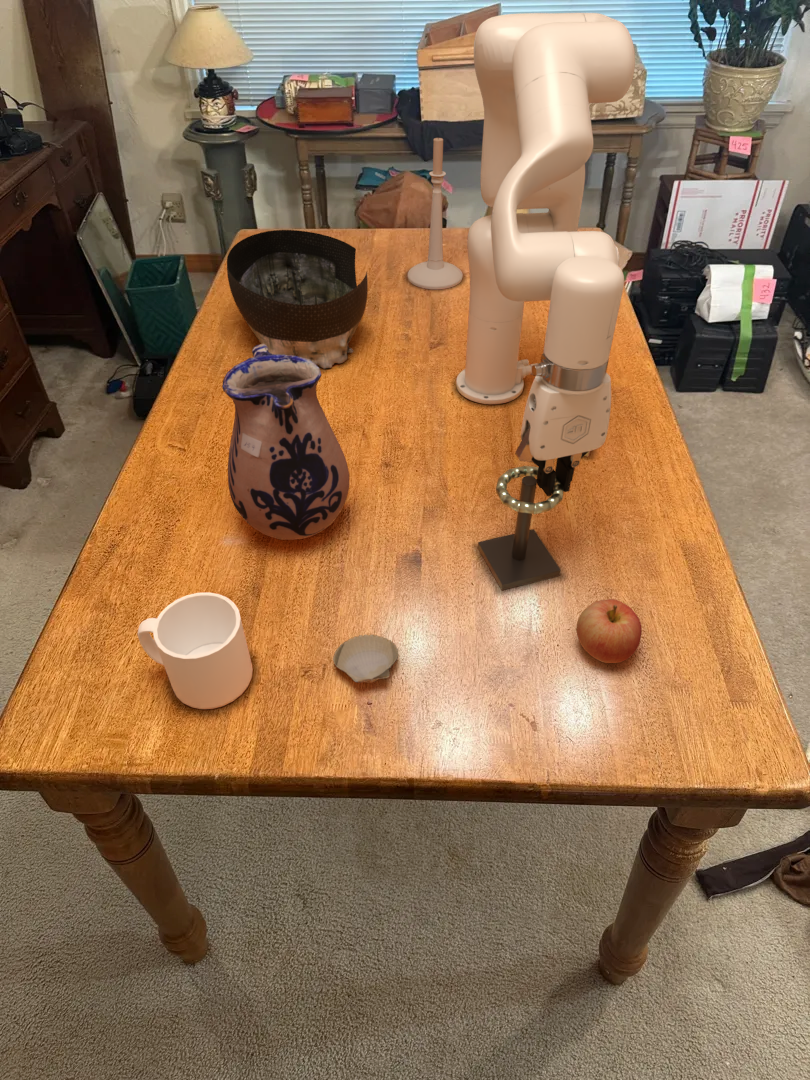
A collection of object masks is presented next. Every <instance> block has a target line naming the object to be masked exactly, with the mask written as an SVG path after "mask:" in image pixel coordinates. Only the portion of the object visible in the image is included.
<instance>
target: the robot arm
mask: <svg viewBox="0 0 810 1080" xmlns="http://www.w3.org/2000/svg"><path fill="white" fill-rule="evenodd" d="M473 40H474V41H473V64H474V65H473V66H474V71H475V76H476V81H477V84H478V87H479V90H480V94H481V98H482V105H483V106H482V107H483V130H482V143H481V144H482V145H481V159H480V161H481V162H480V179H479V180H480V182H479V183H480V192H481V198H482V200H483V202H484V204H486V206H488V207H490V208H491V209H492V213H491V214H490V215H485V216H482V217H479V218H478V219H476V220H475V221H474V222H473V223H472V224H471V225H470V227H469V229H468V232H467V238H466V249H467V259H468V271H469V297H468V318H467V332H466V334H467V335H466V351H465V352H466V353H465V368H464V369H463V370H461V371H460V372H458V374H457V377H456V379H455V386H456V390H457V391H458V393H459V394H460V395H461V396H462V397H464V398H466V399H467V400H469V401H472V402H475V403H478V404H483V405H501V404H507V403H509V402H511V401H514V400H515V399H517V398H519V397H520V396H521V394H522V393H523V391H524V383H525V382H524V380H523V379H525V378H526V376H529V375H530V376H533V377H534V379H533V381H532V384H531V387H530V389H529V393H528V397H527V399H526V402H525V403H526V404H525V406H524V407H525V408H524V411H523V416H522V417H523V418H522V421H521V422H522V423H521V429H520V430H521V431H520V442H519V444H518V447H517V448H516V450H515V452H514V454H515V456H516V458H517V459H518V461H520V462H524V463H525V462H526V463H533V464H534V465H536V467H538V473H537V478H536V479H537V487H538V488H539V489H541V490H542V491H543V493H544V494H545V496H546V497H551V496H552V492H553V489H554V483H555V478H556V476H557V478H558V479H559V480H560V482H561V483H562V485H563V486H564V490H563V493H568V492H570V488H571V483H572V481H573V478H574V474H575V468H577V467H578V466H580V464H581V460H582V459H583V458H584V457H586V456H585V455H586V454H587V453H588V452H589V451H590V452H591V451H595V450H598V449H600V448H601V447H602V446H604V445H605V443H606V440H607V436H608V431H609V426H610V420H611V419H610V418H611V410H612V408H611V407H612V380H611V379H612V378H611V376H610V374H609V373H608V372H607V370H608V365H609V361H610V354H611V351H612V346H613V345H612V344H613V340H614V335H615V332H616V331H615V330H616V325H617V321H618V315H619V312H620V308H621V307H620V306H621V302H622V297H623V292H624V288H625V287H624V286H625V275H624V272H623V270H622V268H621V267H620V251H619V248H618V246H617V245H616V244H615V243H616V242H615V241H614V239H613V237H612V236H611V235H610V234H608V233H606V232H604V231H599V230H579V231H578V229H579V224H580V223H579V222H580V216H581V209H582V203H583V198H584V191H585V182H586V163H587V162H588V160H590V158H591V155H592V153H593V151H594V135H593V128H592V127H593V126H592V119H591V110H590V104H602V103H603V104H604V103H606V104H607V103H608V104H609V103H610V104H611V103H616V102H618V101H620V100H622V99H623V98H624V96H626V95H627V93H628V92H629V90H630V88H631V85H632V83H633V78H634V74H635V67H636V53H635V46H634V41H633V39H632V35H631V34H630V31H629V29H628V28H627V27H626V25H625V24H624V23H622V22H621V21H619V20H618V19H615V18H612V17H609V16H608V15H605V14H603V13H599V12H552V13H551V12H532V13H531V12H526V13H523V12H522V13H507V14H501V15H495V16H492V17H489V18H487V19H485V20H483V21H482V22H481V23H480V25H479V26H478V27H477V29H476V32H475V35H474V39H473ZM535 209H536V210H538V209H548V211H546V212H527V213H525V212H517V211H518V210H535ZM545 301H546V302H547V301H549V307H548V315H547V323H546V329H545V337H544V345H543V351H542V353H541V357H540V362H536V363H531V364H530V363H529V362H530V361H529V359H528V358H524V359H520V360H519V354H520V346H521V345H520V344H521V338H522V337H521V336H522V329H523V320H524V311H525V303H527V302H529V303H530V302H545ZM555 459H556V463H555ZM554 466H555V468H554Z"/></svg>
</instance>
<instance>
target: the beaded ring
mask: <svg viewBox="0 0 810 1080" xmlns="http://www.w3.org/2000/svg"><path fill="white" fill-rule="evenodd" d="M537 473H538V466H531V465H521V466H516V467H513V468H509V469H508V470H506V471H505V472H503V474H501V475H500V476H499V477H498V478H497V480H496V485H495V494H496V496H497V497H498V498H499V500H500V502H501V503H502V504H503V506H506V507H508V508H509V509H511V510H513V511H515V512H521V513H529V514H532V515H537V514H542V513H547V512H550V511H552V510H553V509H555V508H556V507H557V506H558V505H560V503H561V502H562V501H563V499H564V492H563V490H564V486H563V485H562V483H561V482H560V480H559V479H558V478H557V476H556V478H555V483H554V489H553V492H552V495H551V496H548V498H547V499H545V500H541V501H538V502H537V501H536V502H534V503H529V502H521V501H519V499H517V498H516V497H514V496H511V494H510V492H509V491H508V484H510V482H512V481H513V480H515V479H519V478H523V477H525V476H533V477H535V478H536V479H537Z"/></svg>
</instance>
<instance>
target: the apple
mask: <svg viewBox="0 0 810 1080" xmlns="http://www.w3.org/2000/svg"><path fill="white" fill-rule="evenodd" d="M638 616H639V615H638V614H637V613H636V612H635V611H634V609H632V607H630V606H629V605H628V604H626V603H624V602H623V601H620V600H618V599H615V598H607V599H599V600H595V601H593V602H592V603H591V604H589V605H588V606H587V607H586V608H584V609H583V610H582V612H581V613H580V614H579V616H578V619H577V621H576V635H577V638H578V641H579V643H580V645H581V647H582V648H583V650H584V651H585V652H586V653H588V655H590V656H591V657H592V658H594V659H596V660H597V661H600V662H601V663H606V664H616V663H622V662H625V661H627V660H628V659H630V658H631V657H632V656H633V655H634V654H635V652H636V651H637V650H638V648H639V646H640V643H641V639H642V623H641V619H640V618H639V617H638Z"/></svg>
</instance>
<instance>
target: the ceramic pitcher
mask: <svg viewBox="0 0 810 1080" xmlns="http://www.w3.org/2000/svg"><path fill="white" fill-rule="evenodd" d="M251 353H252V357H249V358H247V359H246V360H243V361H242V362H239V363H238V364H235V365H234V366H233V367H231V369H230V370H228V371H227V373H226V375H225V376H224V377H223V380H222V385H221V387H222V391H223V392H224V394H225V395H227V396H228V398H230V399H231V400H232V402H233V405H234V408H235V409H234V419H233V425H232V431H231V432H232V433H231V438H230V443H229V449H228V462H227V484H228V490H229V495H230V499H231V502H232V504H233V506H234V508H235V509H236V511H237V513H238V514H239V515H240V517H241V518H242V519H243V520H244V521H245V522H246V523H247V524H248V525H249V526H251V527H252V528H253V529H255V530H256V531H258V532H259V533H261V534H263V535H265V536H268V537H271V538H274V539H277V540H287V541H295V540H301V539H306V538H310V537H313V536H315V535H317V534H319V533H321V532H322V531H324V530H325V529H327V528H328V527H330V526H331V525H332V524H333V523H334V521H335V520H336V519H337V517H338V516H339V514H340V513H341V511H342V510H343V508H344V506H345V504H346V502H347V499H348V495H349V491H350V490H349V489H350V470H349V466H348V462H347V459H346V456H345V453H344V451H343V449H342V446H341V445H340V443H339V441H338V439H337V437H336V435H335V433H334V430H333V428H332V426H331V424H330V423H329V420H328V418H327V416H326V414H325V411H324V410H323V408H322V406H321V403H320V401H319V399H318V394H317V385H318V382H319V381H320V380H321V379H322V378H321V377H322V372H321V368H320V366H319V365H318V366H317V365H316V364H314V363H313V362H312V361H311V360H310V359H306V358H302V357H298V356H294V355H273V354H271V353H270V352H269V348H268V347H267V346H266V345H265V344H261V343H260V344H256V345H255V346H253V347H252V349H251Z"/></svg>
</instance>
